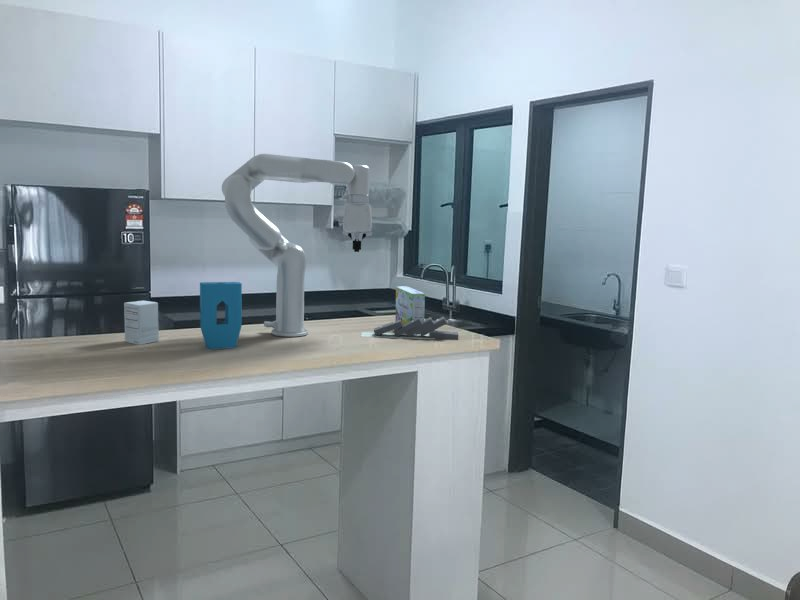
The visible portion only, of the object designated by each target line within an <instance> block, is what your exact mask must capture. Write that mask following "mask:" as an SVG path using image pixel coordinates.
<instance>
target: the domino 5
mask: <svg viewBox="0 0 800 600" xmlns="http://www.w3.org/2000/svg"><path fill="white" fill-rule="evenodd" d="M428 335H429V337H430V338H435V340H436V339H437V340H442V339H443V340H459V332H458V331H448V330H446V331H445V330H438V329H436V330H434V331H432V332H430V333H428Z"/></svg>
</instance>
